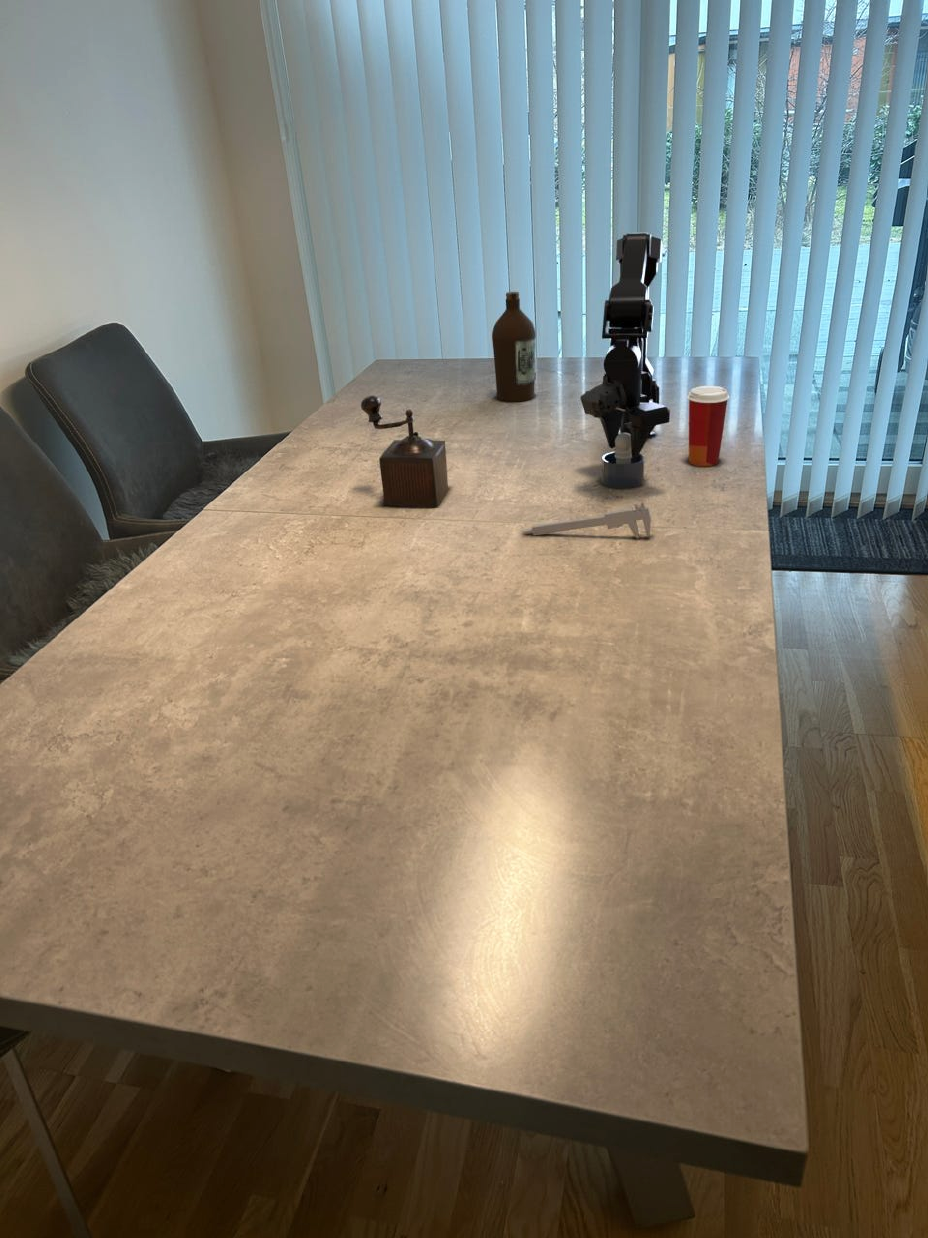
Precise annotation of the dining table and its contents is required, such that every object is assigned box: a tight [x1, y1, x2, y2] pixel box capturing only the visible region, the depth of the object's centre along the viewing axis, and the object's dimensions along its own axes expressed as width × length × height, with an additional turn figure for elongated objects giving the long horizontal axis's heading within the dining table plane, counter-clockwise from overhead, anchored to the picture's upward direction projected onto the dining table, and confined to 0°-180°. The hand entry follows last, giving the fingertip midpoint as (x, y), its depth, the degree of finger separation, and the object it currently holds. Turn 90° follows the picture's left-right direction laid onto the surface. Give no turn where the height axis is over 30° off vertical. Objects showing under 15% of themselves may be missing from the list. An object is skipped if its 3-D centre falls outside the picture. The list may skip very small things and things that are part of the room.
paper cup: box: [686, 385, 730, 467], centre depth 171 cm, size 8×8×14 cm
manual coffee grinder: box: [360, 395, 450, 508], centre depth 163 cm, size 16×11×18 cm
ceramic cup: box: [600, 451, 646, 489], centre depth 166 cm, size 8×8×5 cm
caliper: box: [524, 500, 652, 539], centre depth 145 cm, size 20×1×6 cm, turn 78°
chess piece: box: [614, 433, 632, 464], centre depth 165 cm, size 5×5×9 cm
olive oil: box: [491, 291, 537, 403], centre depth 218 cm, size 11×11×25 cm
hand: (623, 452), depth 165 cm, fingers open, 7 cm apart
